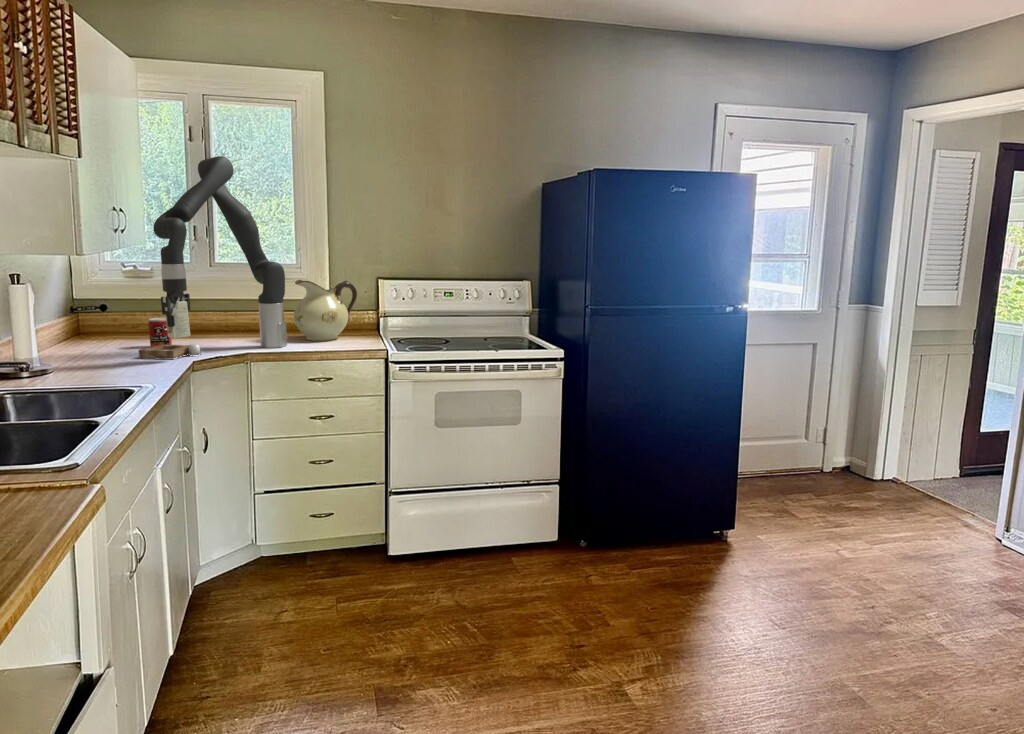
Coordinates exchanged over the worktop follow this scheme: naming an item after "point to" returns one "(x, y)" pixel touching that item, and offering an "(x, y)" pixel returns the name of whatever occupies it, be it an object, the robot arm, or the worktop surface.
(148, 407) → the worktop surface
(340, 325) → the pitcher
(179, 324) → the skincare box
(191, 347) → the grey round ball
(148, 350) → the holder
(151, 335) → the canned food
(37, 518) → the worktop surface
